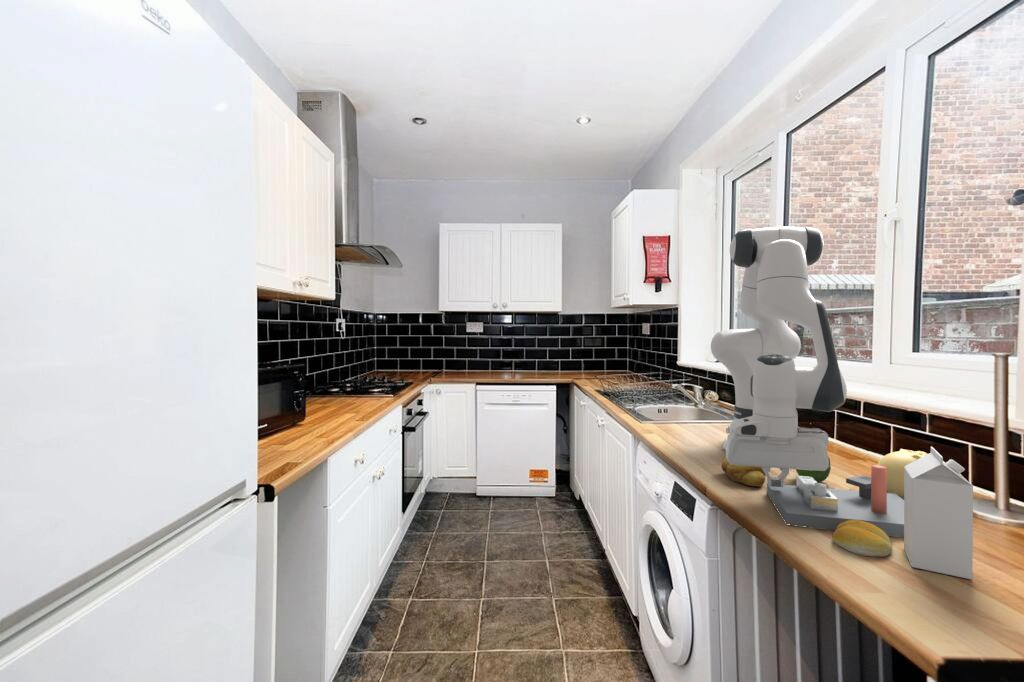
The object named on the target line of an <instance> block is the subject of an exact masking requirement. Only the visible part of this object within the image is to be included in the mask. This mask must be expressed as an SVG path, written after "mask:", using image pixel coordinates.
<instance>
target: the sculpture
mask: <svg viewBox="0 0 1024 682" xmlns="http://www.w3.org/2000/svg"><path fill="white" fill-rule="evenodd" d="M927 454H928V453H927V452H925V451H921V450H917V451H916V450H915V451H914V450H910V449H903V448H900V449H899V451H892V452H890V453H887V454H885V455H884V456H883V457H881V458H880V459H879V461H878V462H877V464H876V465H879V466H884V467H886V468H887V493H893V494H897V495H898V496H899V497H901V498H902V499H904V466H906V465H908V464H910V463H912V462H914V461H916V460H918V459H919V458H921V457H923V456H925V455H927Z"/></svg>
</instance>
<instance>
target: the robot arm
mask: <svg viewBox="0 0 1024 682" xmlns="http://www.w3.org/2000/svg"><path fill="white" fill-rule="evenodd" d="M823 250H824V237H823V233H822V232H821V231H820V229H818V228H814V227H810V226H803V227H797V226H775V227H774V226H773V227H763V228H755V229H752V228H748V229H741V230H739V231H737V232H736V233H735V234H734V235H733V238H732V240H731V243H730V244H729V257H730V259H731V262H732V263H733V264H734V265H735V266H737V267H740V268H744V271H743V276H742V277H743V278H742V283H741V284H742V285H741V292H740V300H739V308H740V311H741V312H742V314H744V315H745V316H747V317H748V318H750V319H753V320H754V321H756V323H755V325H756V326H755V327H752V328H731V329H726V330H721V331H718V332H716V333H715V334H714V335H713V337H712V339H711V341H710V350H711V351H710V352H711V353H712V356H713V357H714V358H715V359H716V360H717V361H718V362H719V363H720V364H722V365H723V366H724V367H725V368H726V369H727V371H728V372H729V373H730V375H731V377H732V380H733V383H734V393H735V394H734V395H735V396H734V397H735V398H734V399H735V405H734V407H733V417H734V418H733V419H732V421H731V423H730V424H729V425H726V426H725V433H726V434H727V436H725V439H724V442H723V445H722V450H725V457H726V459H727V461H728V462H729V463H730V464H731V465H742V466H756V467H762V470H763V472H764V473H765V477H766V485H767V484H768V486H773V487H783V485H784V481H785V479H786V478H787V476H788V475H789V474H790V470H796V469H800V470H815V471H825V470H826V469H827V468H828V467H829V460H828V457H829V455H828V449H827V447H828V445H829V443H830V442H829V434H828V433H827V432H826V431H825V430H822V429H821V428H819V427H811V428H810V427H803V426H798V425H799V422H798V420H799V419H798V417H799V414H798V411H797V409H809V410H810V409H811V410H813V411H819V412H826V413H831V412H833V411H835V410H837V409H838V408H840V407H842V406H843V405H844V404H845V403H846V399H847V395H848V394H847V393H848V392H847V391H848V390H847V384H846V381H845V379H844V375H843V374H842V372H841V369H840V367H839V362H838V357H837V351H836V350H837V349H836V346H835V342H834V336H833V332H832V327H831V324H830V321H829V317H828V313H827V310H826V308H825V305H824V303H823V302H822V301H820V300H818V299H815V298H814V296H813V295H812V293H811V292H810V288H809V269H808V266H812V265H814V264H815V263H816V262H818V261H819V259H820V258H821V256H822V254H823ZM786 322H788V323H792V324H796V325H799V327H800V326H801V327H803V328H804V329H806V330H807V331H808V332H809V333H810V335H811V338H812V343H813V347H814V348H813V349H814V352H815V357H816V362H817V365H815V366H813V367H796V365H795V361H794V359H796V358H797V357H798V355H799V354H800V352H801V349H802V344H801V339H800V337H799V335H798V334H797V333H796V331H794V330H793V329H792V328H790V327H789V326H788V325H787V323H786ZM771 468H774V469H779V471H780V473H779V475H778V476H771V474H769V473H770V472H771Z"/></svg>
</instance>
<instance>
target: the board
mask: <svg viewBox="0 0 1024 682" xmlns="http://www.w3.org/2000/svg"><path fill="white" fill-rule="evenodd" d="M845 483H846V484H849V485H851V486H854V487H858V490H852V489H850V490H849V489H839V488H830V487H829V488H827V484H825V483H821V482H817V483H815V496H824V497H826V491H830V492H831V493H832V494H833V495H834V496H835V497H836V498H837V499H838V511H829V510H818V509H811V508H810V507H809V505H808V504H807V503H806V502H805V500H804V494H803V493H802V492H801V491H800V490H799V489H798V487H797V485H789V484H783V487H773V486H768V484H767V483H766V494H768V495H769V496H768V495H767V496H768V498H769V497H770V498H771V499H770V498H769V499H770V501H771V500H772V501H773V503H774V504H775V506H776V507H775V506H774V507H775V509H776V508H777V509H778V511H779V512H778V511H777V512H778V514H779V513H780V514H781V515H780V514H779V515H780V517H781V516H782V517H783V519H784V520H785V522H786V523H785V522H784V523H785V525H786V524H790V525H797V526H796V527H800V526H806V527H805V528H809V527H812V529H819V530H821V529H822V530H831V531H836V528H837V526H838V525H839V524H841V523H843V522H846V521H850V520H860V521H864V522H867V523H870V524H873V525H875V526H876V527H878V528H880V529H881V530H883V531H884V532H885V534H886V535H887V536H888V537H896V538H897V537H898V538H904V498H902V497H899V496H898V495H897V494H893V493H887V513H886V514H880V513H876V512H873V511H872V510H871V476H870V475H869V476H867V475H858V476H851V477H850V476H849V477H846V478H845ZM772 501H771V502H772ZM773 503H772V504H773ZM774 504H773V505H774ZM777 509H776V510H777ZM782 517H781V518H782ZM783 519H782V520H783ZM784 520H783V521H784ZM790 525H789V526H790Z"/></svg>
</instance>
